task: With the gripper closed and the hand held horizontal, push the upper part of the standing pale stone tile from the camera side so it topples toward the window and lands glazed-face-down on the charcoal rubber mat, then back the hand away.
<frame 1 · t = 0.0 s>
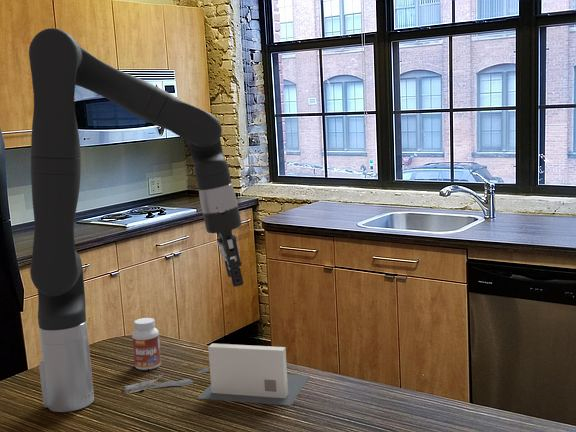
hand: (235, 280, 143), 22 cm above the countertop, tool pointing down, fingers open, 8 cm apart
stone tile: (249, 393, 138), point 1 cm above the countertop, touching rubber mat
pill bottle: (148, 366, 159), on the countertop
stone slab: (167, 384, 149), on the countertop
rubber mat: (255, 389, 141), on the countertop
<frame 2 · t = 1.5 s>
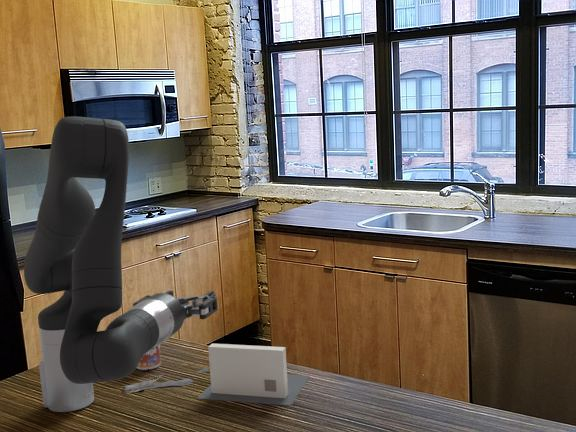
hand: (191, 295, 126), 24 cm above the countertop, tool horizontal, fingers open, 8 cm apart
nothing on the countertop moved.
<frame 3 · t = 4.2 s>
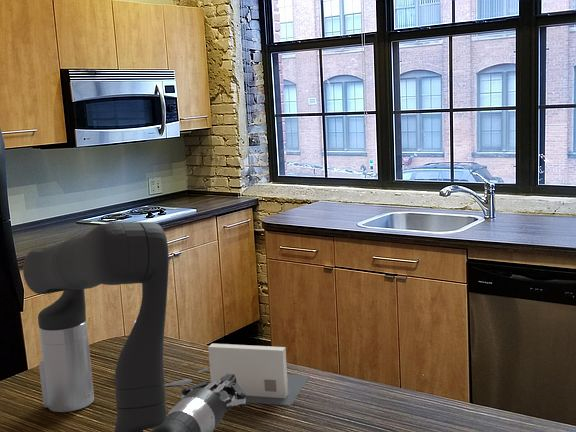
hand: (231, 378, 128), 7 cm above the countertop, tool horizontal, fingers closed
nothing on the countertop moved.
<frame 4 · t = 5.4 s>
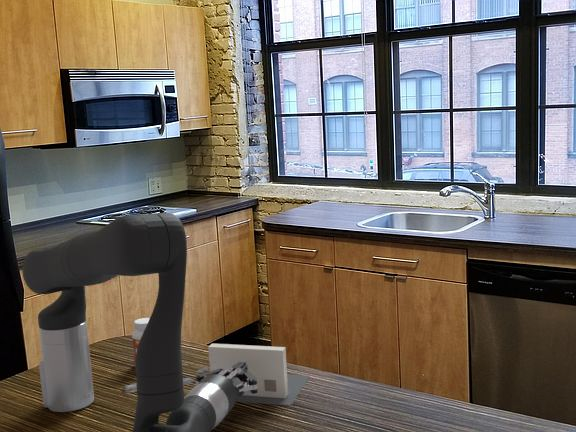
hand: (242, 366, 134), 8 cm above the countertop, tool horizontal, fingers closed
nothing on the countertop moved.
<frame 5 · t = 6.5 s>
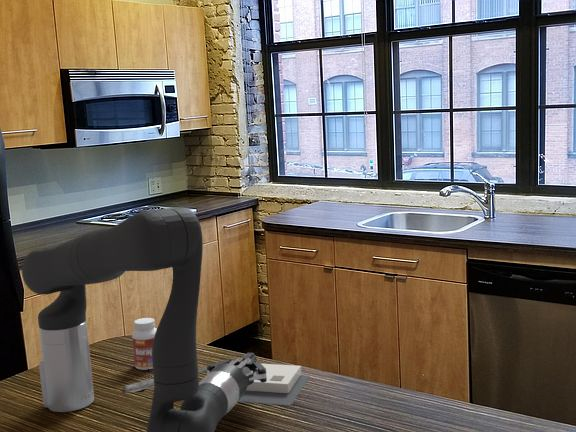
hand: (251, 357, 139), 8 cm above the countertop, tool horizontal, fingers closed
stone tile: (251, 386, 139), point 2 cm above the countertop, tilted 90°, touching rubber mat
everything else where it was.
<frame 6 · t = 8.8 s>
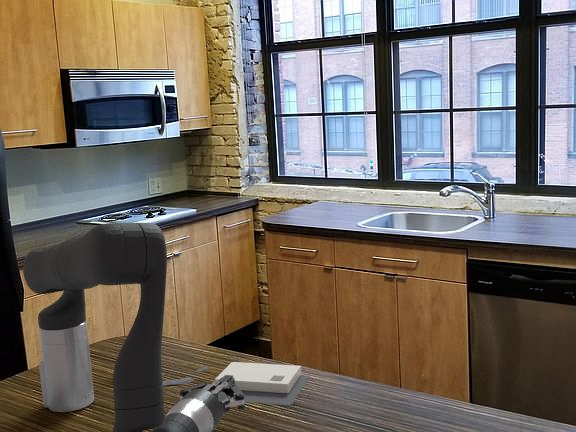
hand: (229, 379, 128), 8 cm above the countertop, tool horizontal, fingers closed
nothing on the countertop moved.
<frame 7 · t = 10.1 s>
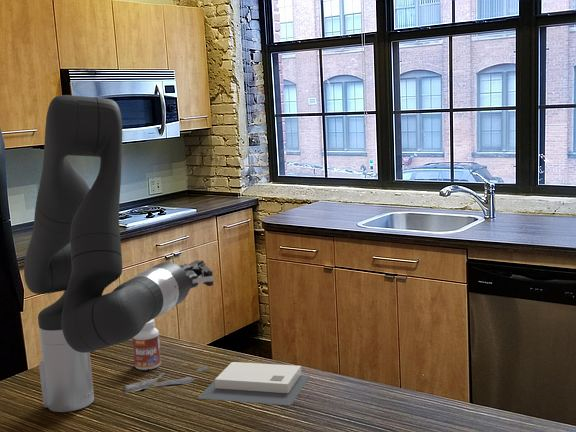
hand: (200, 265, 125), 30 cm above the countertop, tool horizontal, fingers closed
nothing on the countertop moved.
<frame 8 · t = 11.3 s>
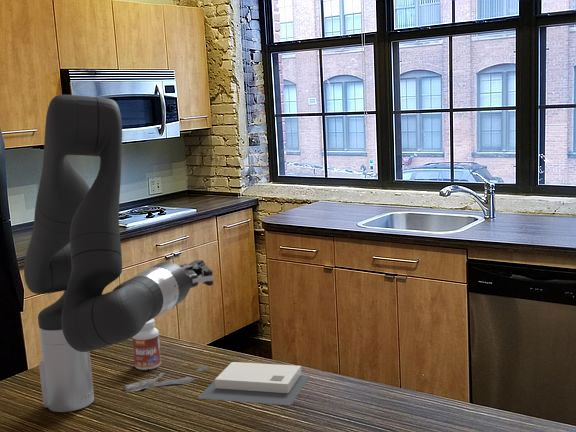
hand: (200, 265, 125), 30 cm above the countertop, tool horizontal, fingers closed
nothing on the countertop moved.
at the end: stone tile tilted 90°; stone tile inside the target area (1.9 cm from its centre), point 1.7 cm above the countertop; the gripper is holding nothing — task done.
